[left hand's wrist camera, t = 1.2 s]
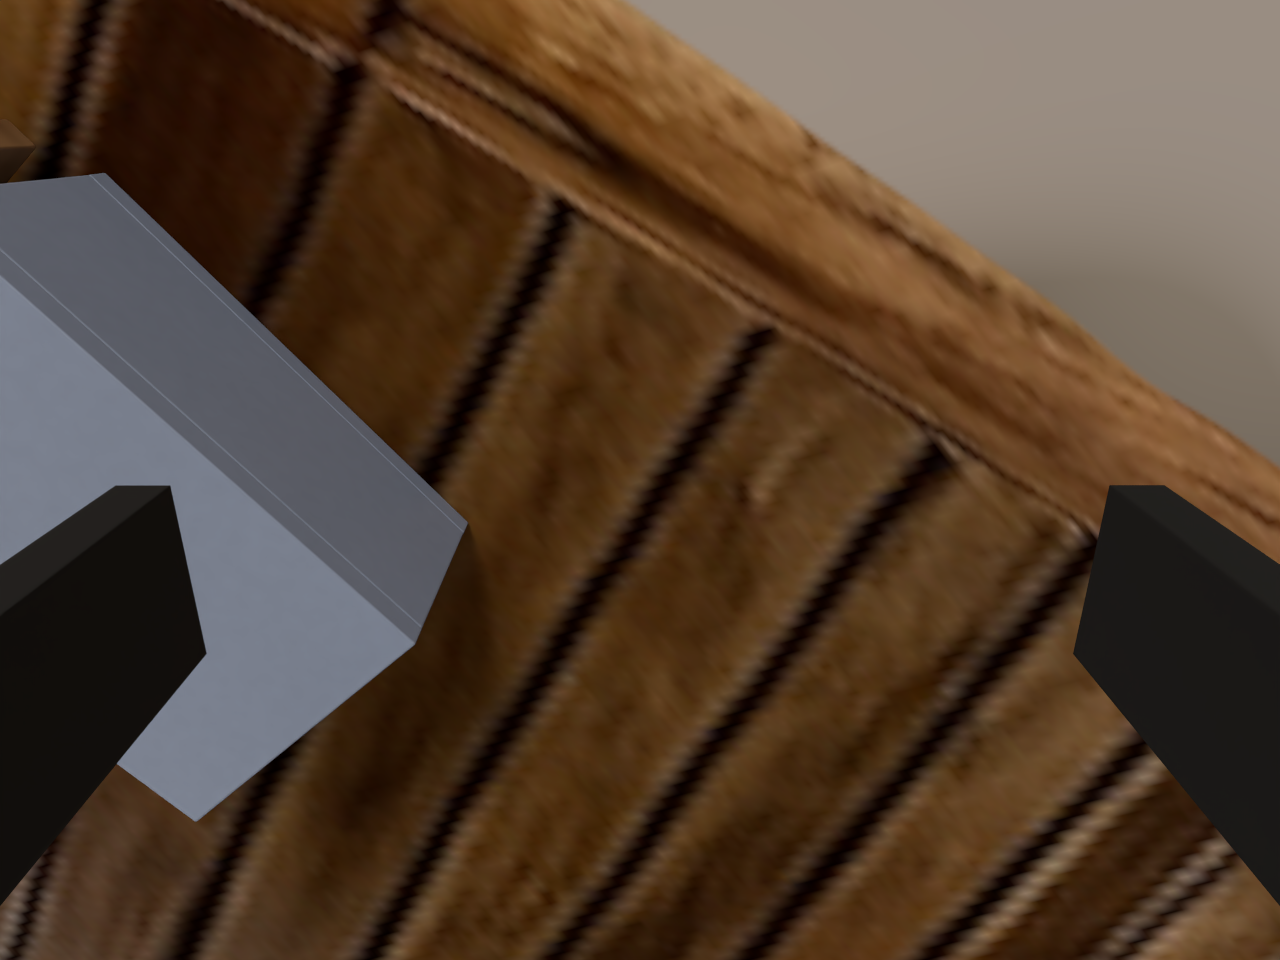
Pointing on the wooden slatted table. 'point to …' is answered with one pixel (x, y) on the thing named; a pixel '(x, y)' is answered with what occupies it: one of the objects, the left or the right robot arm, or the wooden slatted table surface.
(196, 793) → the cabinet
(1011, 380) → the wooden slatted table surface
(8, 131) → the drawer
